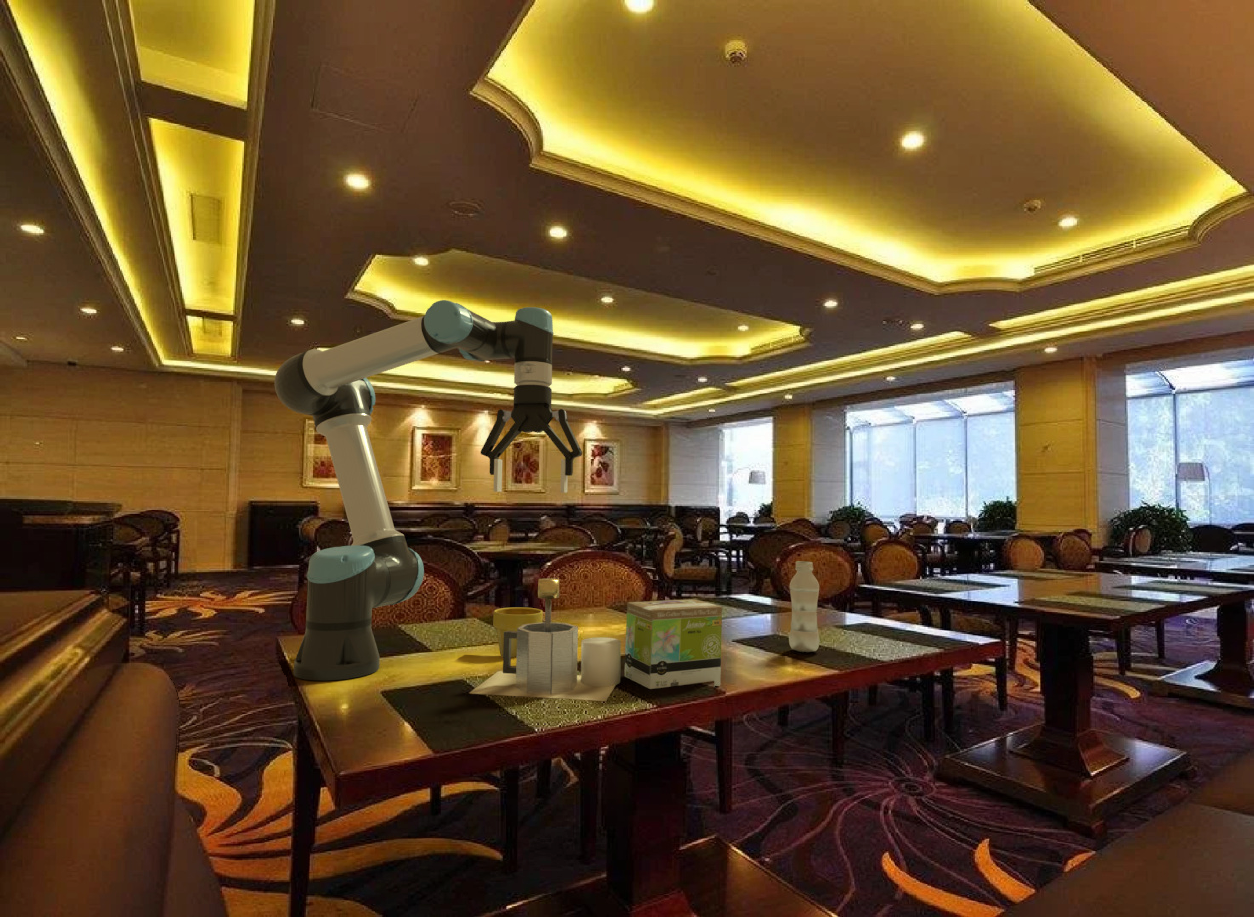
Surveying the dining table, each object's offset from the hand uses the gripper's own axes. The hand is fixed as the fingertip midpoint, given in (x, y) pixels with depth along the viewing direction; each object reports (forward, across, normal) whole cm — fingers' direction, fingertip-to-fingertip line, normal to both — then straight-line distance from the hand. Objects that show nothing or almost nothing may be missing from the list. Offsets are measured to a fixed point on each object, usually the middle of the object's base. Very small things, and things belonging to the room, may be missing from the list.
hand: (530, 492), depth 136 cm
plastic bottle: (+35, +56, +28) cm, 72 cm away
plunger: (+30, +8, -15) cm, 35 cm away
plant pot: (+35, -5, +10) cm, 37 cm away
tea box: (+35, +29, -5) cm, 46 cm away
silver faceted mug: (+33, +7, -15) cm, 37 cm away
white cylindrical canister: (+34, +16, -10) cm, 39 cm away
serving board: (+35, +8, -14) cm, 38 cm away
